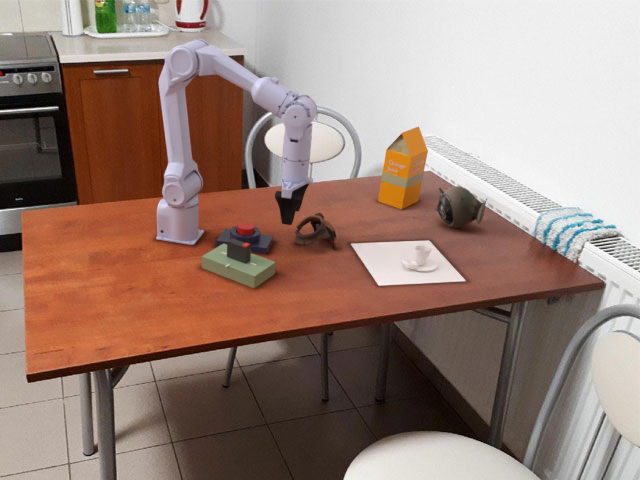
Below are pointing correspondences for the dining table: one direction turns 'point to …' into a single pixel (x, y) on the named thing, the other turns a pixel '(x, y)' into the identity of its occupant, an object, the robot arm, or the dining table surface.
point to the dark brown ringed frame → (316, 231)
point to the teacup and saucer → (406, 263)
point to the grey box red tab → (239, 250)
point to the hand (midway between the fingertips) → (290, 217)
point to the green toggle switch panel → (238, 267)
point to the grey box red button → (247, 239)
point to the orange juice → (403, 170)
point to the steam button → (245, 228)
